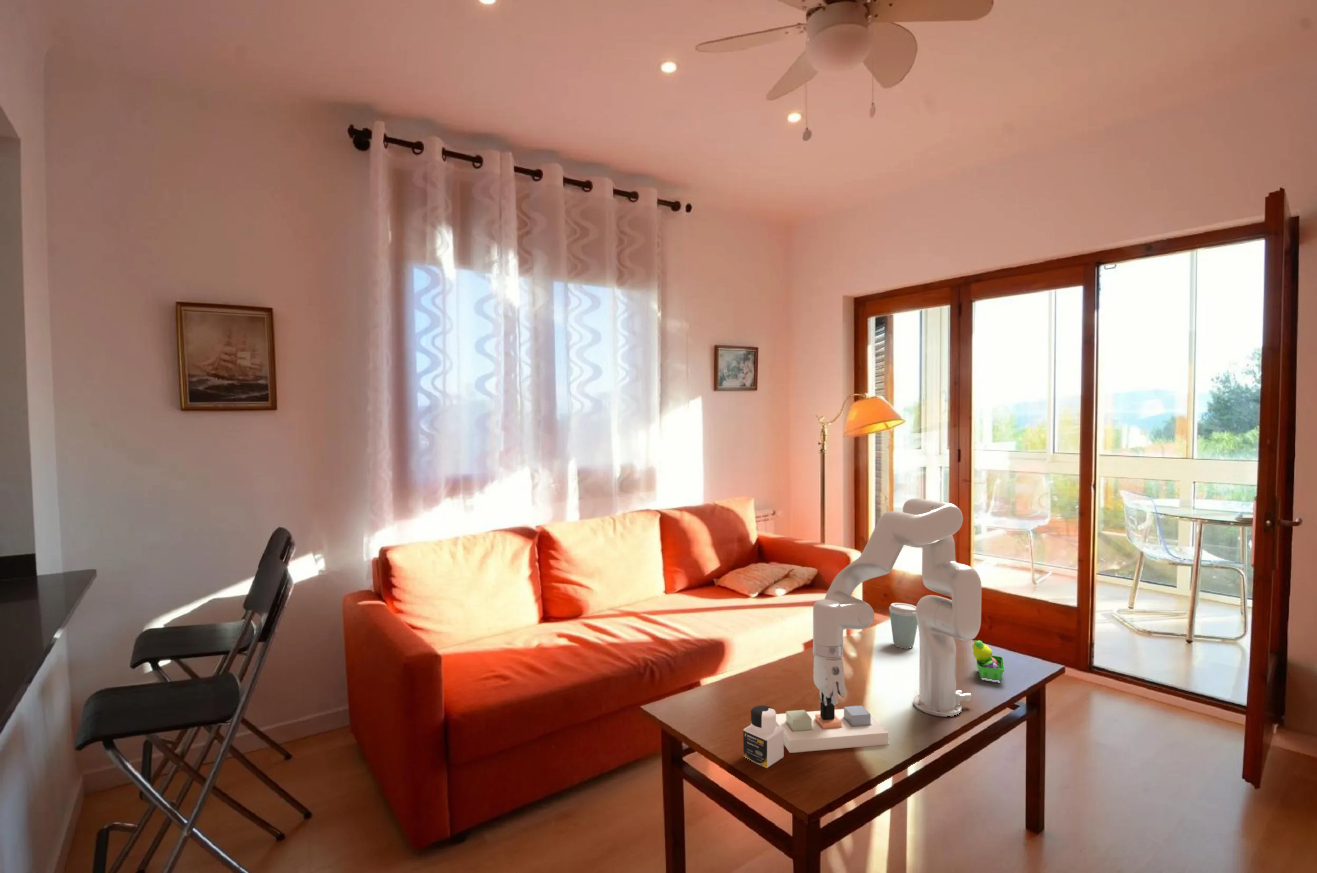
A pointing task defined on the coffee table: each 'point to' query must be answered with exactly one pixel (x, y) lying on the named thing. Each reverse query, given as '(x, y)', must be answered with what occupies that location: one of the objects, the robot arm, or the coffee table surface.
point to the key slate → (857, 716)
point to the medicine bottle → (763, 737)
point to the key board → (831, 735)
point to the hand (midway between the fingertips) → (827, 718)
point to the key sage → (798, 720)
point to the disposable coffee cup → (903, 624)
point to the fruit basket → (988, 662)
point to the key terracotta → (827, 722)
